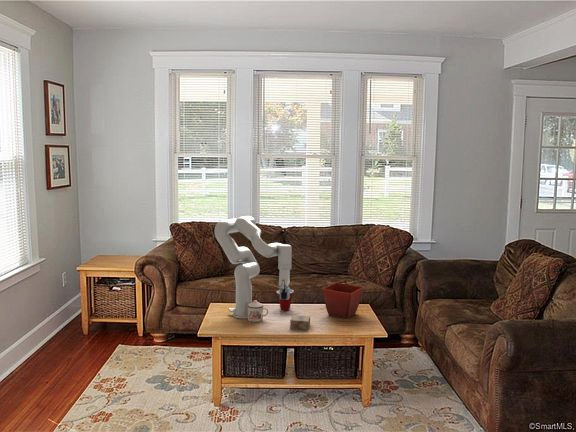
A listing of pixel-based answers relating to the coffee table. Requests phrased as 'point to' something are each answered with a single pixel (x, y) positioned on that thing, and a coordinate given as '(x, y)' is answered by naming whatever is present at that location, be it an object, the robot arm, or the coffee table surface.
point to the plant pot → (342, 299)
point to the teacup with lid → (256, 311)
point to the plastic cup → (285, 301)
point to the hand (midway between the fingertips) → (284, 297)
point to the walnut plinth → (300, 322)
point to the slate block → (287, 292)
